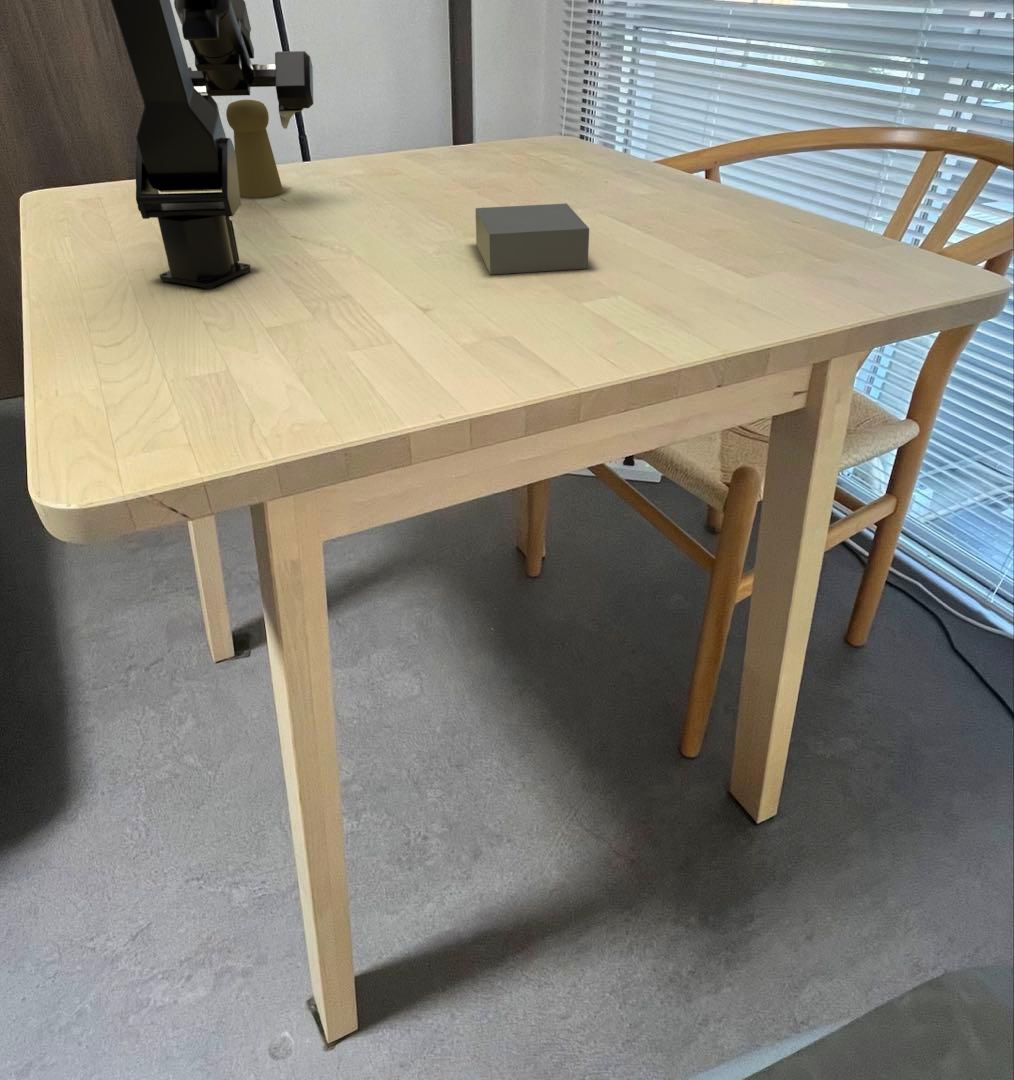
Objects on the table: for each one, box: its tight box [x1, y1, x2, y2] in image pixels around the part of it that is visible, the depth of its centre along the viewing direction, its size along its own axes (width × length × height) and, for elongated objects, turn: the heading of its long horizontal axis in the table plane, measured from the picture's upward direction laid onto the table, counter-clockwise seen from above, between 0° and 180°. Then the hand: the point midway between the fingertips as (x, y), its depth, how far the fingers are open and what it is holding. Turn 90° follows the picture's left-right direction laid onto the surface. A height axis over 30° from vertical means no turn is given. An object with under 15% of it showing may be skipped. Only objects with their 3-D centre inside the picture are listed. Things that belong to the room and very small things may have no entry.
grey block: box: [475, 203, 590, 275], centre depth 90 cm, size 10×10×4 cm
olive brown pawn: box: [225, 99, 284, 199], centre depth 112 cm, size 6×6×11 cm
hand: (248, 126), depth 110 cm, fingers open, 9 cm apart
